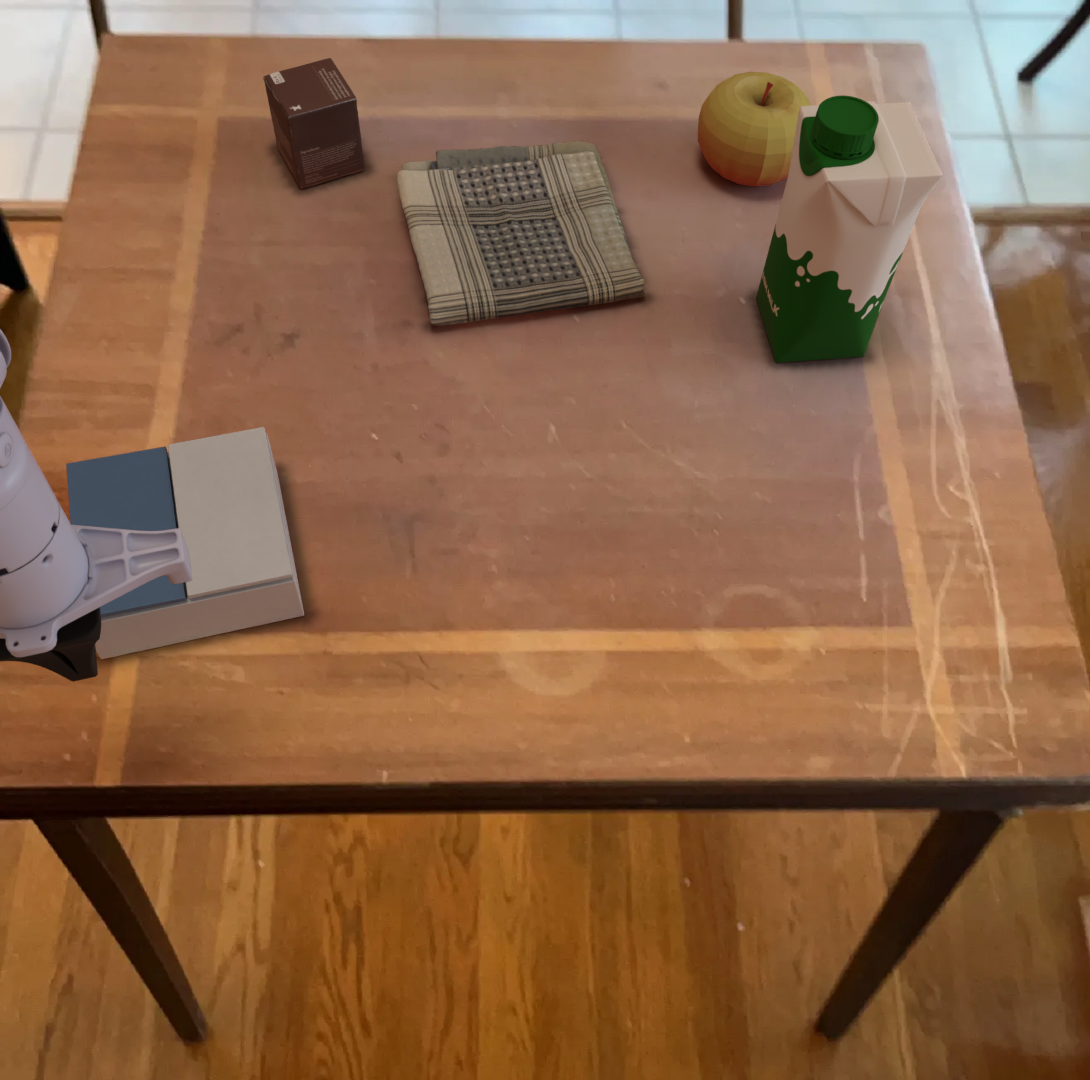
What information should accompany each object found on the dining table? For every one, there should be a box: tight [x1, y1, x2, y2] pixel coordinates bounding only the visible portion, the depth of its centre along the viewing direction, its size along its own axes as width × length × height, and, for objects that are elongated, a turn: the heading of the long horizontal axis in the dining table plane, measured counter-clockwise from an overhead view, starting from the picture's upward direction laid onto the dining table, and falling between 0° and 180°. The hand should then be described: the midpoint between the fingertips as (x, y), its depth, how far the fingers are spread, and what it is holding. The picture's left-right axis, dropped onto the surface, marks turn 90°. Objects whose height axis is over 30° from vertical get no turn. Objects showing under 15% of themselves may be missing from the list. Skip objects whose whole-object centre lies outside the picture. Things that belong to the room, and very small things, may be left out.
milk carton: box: [755, 95, 944, 364], centre depth 84 cm, size 9×9×20 cm
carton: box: [95, 426, 305, 660], centre depth 77 cm, size 13×12×5 cm
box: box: [262, 57, 366, 189], centre depth 98 cm, size 6×6×7 cm
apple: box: [697, 71, 812, 187], centre depth 99 cm, size 10×10×8 cm
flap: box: [65, 446, 186, 617], centre depth 74 cm, size 6×12×1 cm, turn 15°
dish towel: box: [396, 140, 646, 326], centre depth 95 cm, size 19×18×3 cm
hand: (83, 663), depth 63 cm, fingers closed
